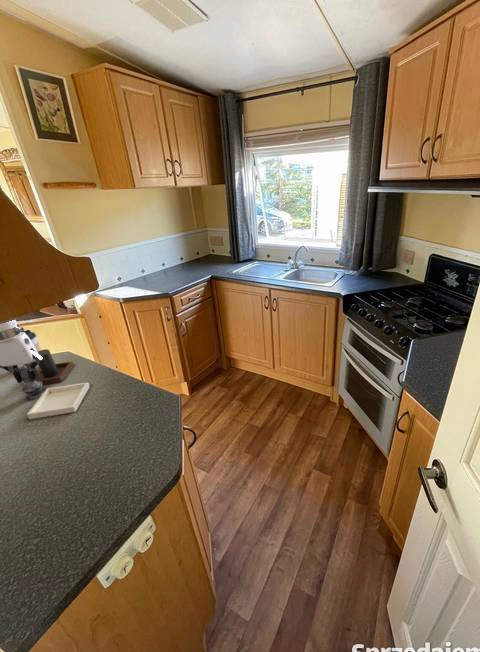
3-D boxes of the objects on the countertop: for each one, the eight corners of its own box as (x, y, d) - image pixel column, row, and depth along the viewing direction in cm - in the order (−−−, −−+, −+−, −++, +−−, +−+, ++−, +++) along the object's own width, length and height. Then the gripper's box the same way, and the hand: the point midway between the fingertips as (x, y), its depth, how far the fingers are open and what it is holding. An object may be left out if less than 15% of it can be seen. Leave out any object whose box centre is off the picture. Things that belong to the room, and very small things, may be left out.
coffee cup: (27, 373, 116) (11, 340, 110) (18, 367, 121) (1, 335, 114) (52, 362, 123) (37, 331, 117) (42, 357, 128) (27, 326, 121)
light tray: (29, 419, 92) (26, 414, 91) (49, 392, 104) (46, 388, 103) (75, 411, 94) (73, 406, 93) (89, 386, 106) (88, 382, 105)
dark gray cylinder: (41, 379, 111) (30, 357, 107) (47, 372, 116) (37, 350, 111) (55, 377, 112) (45, 355, 108) (61, 370, 116) (51, 348, 112)
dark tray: (27, 386, 108) (25, 382, 107) (42, 369, 118) (40, 365, 117) (61, 381, 110) (59, 377, 109) (73, 365, 120) (72, 361, 119)
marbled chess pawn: (49, 391, 105) (36, 363, 99) (32, 401, 100) (17, 372, 95) (40, 387, 107) (26, 360, 102) (22, 397, 102) (7, 369, 97)
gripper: (39, 324, 97) (59, 370, 105) (-17, 331, 95) (8, 377, 103) (27, 334, 91) (50, 382, 99) (-34, 341, 88) (-5, 390, 96)
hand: (28, 379), depth 101 cm, fingers closed on marbled chess pawn, 3 cm apart
